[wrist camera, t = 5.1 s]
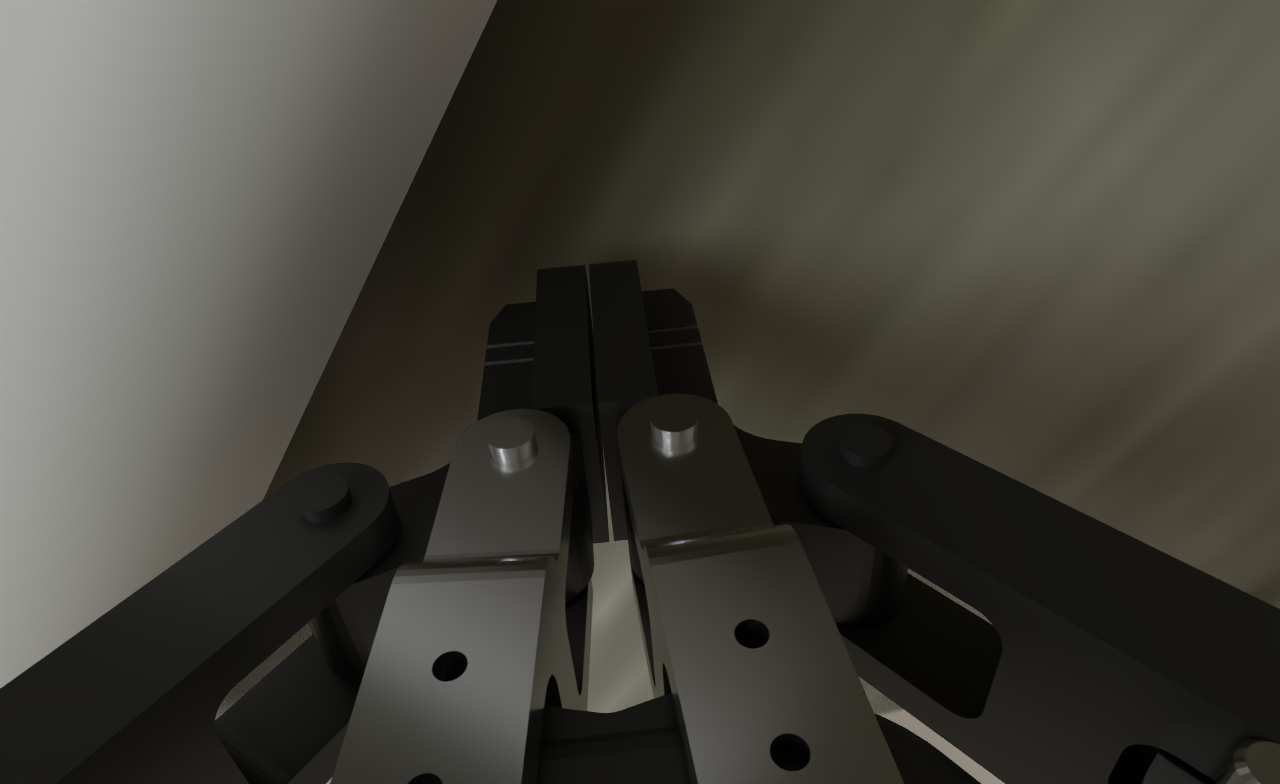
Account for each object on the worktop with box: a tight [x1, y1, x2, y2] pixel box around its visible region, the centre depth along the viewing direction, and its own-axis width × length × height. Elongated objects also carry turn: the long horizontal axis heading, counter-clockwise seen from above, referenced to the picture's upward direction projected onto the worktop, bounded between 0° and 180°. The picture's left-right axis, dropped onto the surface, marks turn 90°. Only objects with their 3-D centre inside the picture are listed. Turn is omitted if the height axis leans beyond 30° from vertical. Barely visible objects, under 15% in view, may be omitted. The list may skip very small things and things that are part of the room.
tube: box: [0, 0, 497, 688], centre depth 11 cm, size 5×5×25 cm
